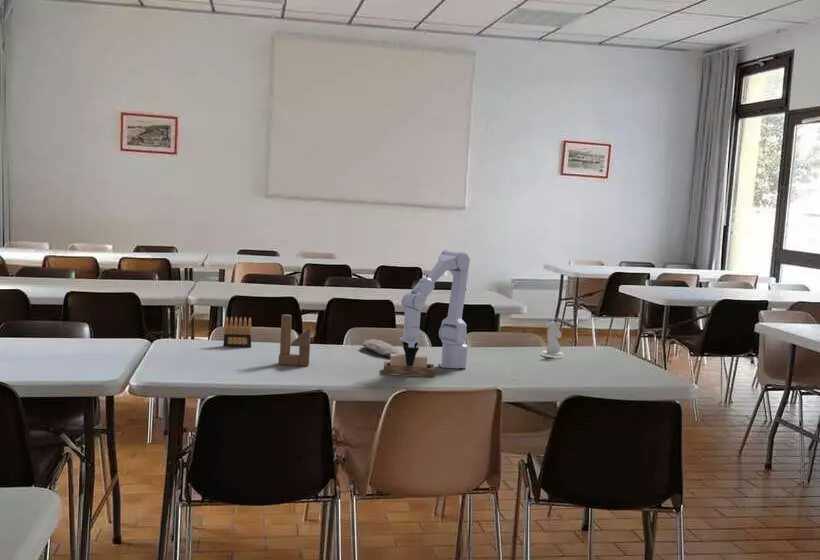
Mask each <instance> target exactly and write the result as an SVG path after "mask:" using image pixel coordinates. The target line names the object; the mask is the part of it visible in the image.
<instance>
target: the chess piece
mask: <svg viewBox="0 0 820 560" xmlns="http://www.w3.org/2000/svg"><path fill="white" fill-rule="evenodd" d="M546 331H547V334H546V335H547V336H546V337H547V347H545V350H542V352H541V353H542V354H545V355H551V356H562V355H564V356H565V354H564V352H562V351H560V350H561V344H560V342H559V340H558V339H560V338H562V332H561V331H560V328H559V325H558V324H557V321H554V320H553V321H550V322H549V324H548V327H547V330H546Z"/></svg>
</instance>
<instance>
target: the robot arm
mask: <svg viewBox="0 0 820 560" xmlns="http://www.w3.org/2000/svg"><path fill="white" fill-rule="evenodd" d="M470 260H471V258H470V257H469V255H468V253H467V252H465V251H457V250H456V251H455V250H449V249H444V250H442V251H441V252H440V254H439V255H438V257H437V263H436V264H435V265H434V266H433V267H432V270H431V271H430V272H429V274H428V275H427V276H426V277H422V278H420V279H419V280H418V282H417V283H416V285H415V286H414V287H413V288H412V289H411V291H410V292H407V293H405V294H404V295H403V297H402V299H401V305H402V307H403V312H404V317H403V332H402V337H399V341H402V348H403V351H404V354H405V355H406V364H407V366H413V363H414V359H415V356H416V355H417V353H418V351H419V349H420V348H419V347H418V343H419V342H420V330H421V329H420V326H421V314H422V313H421V310H422V309H423V308H424V307H425V305H426V301H427V297H429V295H431V293H432V291H433V290H434V289H435V283H436V282H437V281H438V280H439V279H441V277H442V276H443V275H444V274H445V273H446V272H447V271H449V272H450V274H451V275H452V283H451V290H450V296H449V303H448V310H447V311H448V312H447V316H446V317H445V318H444V319H442V320H441V325H440V328H439V330H438V337H439V339H440V341H441V342H442V345H441V346H442V347H441V349H442V350H441V360H440V362H439V366H440V368H445V369H459V368H466V369H467V363H468V362H467V360H468V359H467V356H468V345H467V344H465V342H466V340H467V338H468V332H467V326H468V325H467V323H466V322H465V321H464V320H463V319H462V318H463V311H464V303H465V297H466V292H467V284H468V283H467V282H468V277H469V276H468V275H469V268H470V267H469V266H470Z"/></svg>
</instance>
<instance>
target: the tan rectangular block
mask: <svg viewBox="0 0 820 560" xmlns="http://www.w3.org/2000/svg"><path fill="white" fill-rule="evenodd" d="M389 357H390V360H389V362H390V366H399V367H417V368H427V364H428V355H422V354H421V355H419V354H416V356H415V359H414V363H413V366H407V364H406V355H405V353H396V354H391V356H389Z"/></svg>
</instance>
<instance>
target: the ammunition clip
mask: <svg viewBox="0 0 820 560" xmlns="http://www.w3.org/2000/svg"><path fill="white" fill-rule="evenodd" d="M233 319H234V320H233ZM238 320H239V321H238ZM223 330H224V333H223V345H222V346H223V348H245V349H246V348H250V349H251V348H252V317H249V318H248V322H247V317H246V316H244V318H243V319H242V316H240V317H239V319H238V318H237V316H235V317H234V318H233V316H231V317H230V320H229V317H228V316H226V318H225V322H224V329H223Z"/></svg>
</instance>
